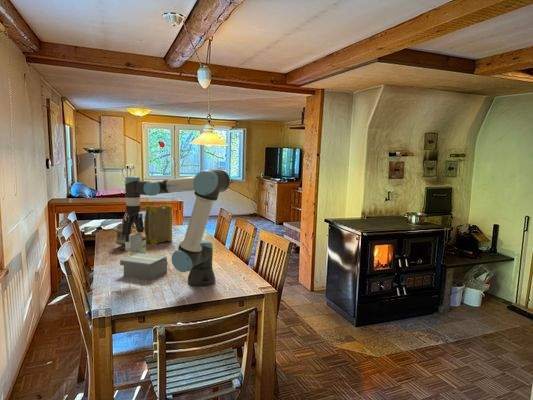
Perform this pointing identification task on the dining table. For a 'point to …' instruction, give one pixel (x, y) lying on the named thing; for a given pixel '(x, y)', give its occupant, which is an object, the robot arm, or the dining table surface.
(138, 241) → the medicine box
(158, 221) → the decorative book
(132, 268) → the crate
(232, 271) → the dining table surface
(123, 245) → the apothecary jar
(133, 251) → the coffee can
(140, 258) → the lid
